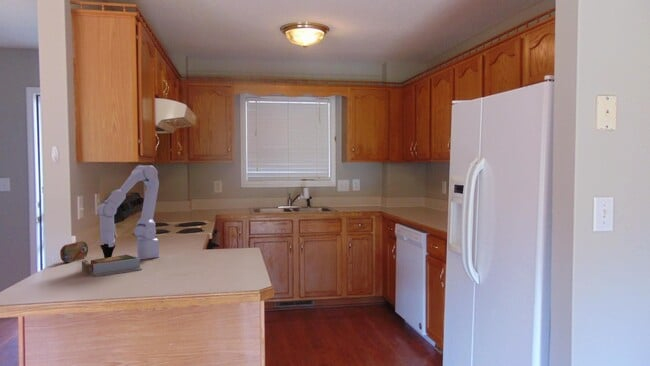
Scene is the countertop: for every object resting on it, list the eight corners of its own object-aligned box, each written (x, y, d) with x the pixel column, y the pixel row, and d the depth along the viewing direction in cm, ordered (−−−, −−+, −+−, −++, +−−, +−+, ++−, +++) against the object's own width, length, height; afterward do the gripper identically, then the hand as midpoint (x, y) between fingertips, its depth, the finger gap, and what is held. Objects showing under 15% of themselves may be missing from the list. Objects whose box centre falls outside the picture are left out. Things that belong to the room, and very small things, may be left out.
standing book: (86, 271, 190) (86, 259, 190) (91, 275, 183) (90, 263, 183) (82, 271, 189) (81, 260, 189) (86, 276, 182) (85, 264, 182)
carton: (90, 269, 195) (90, 259, 195) (126, 263, 207) (126, 253, 207) (98, 272, 190) (98, 262, 189) (135, 265, 202) (135, 256, 202)
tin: (65, 264, 203) (64, 245, 203) (59, 264, 204) (58, 245, 203) (88, 257, 218) (88, 239, 217) (83, 257, 218) (82, 239, 218)
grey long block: (139, 268, 195) (139, 258, 195) (141, 269, 192) (141, 259, 192) (93, 275, 184) (93, 264, 184) (95, 276, 181) (94, 265, 181)
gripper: (94, 229, 205) (94, 258, 205) (100, 233, 193) (101, 264, 194) (110, 227, 209) (111, 256, 210) (118, 231, 197) (119, 262, 198)
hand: (108, 260), depth 202 cm, fingers closed
